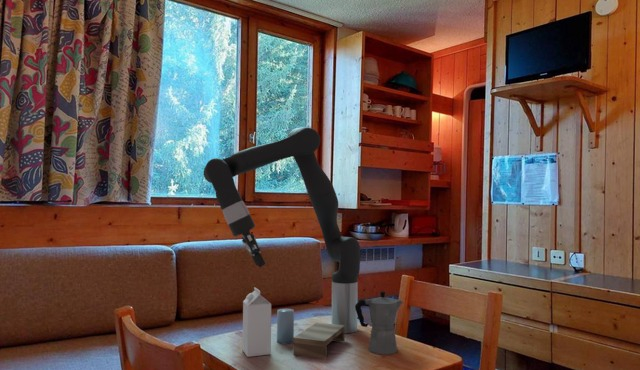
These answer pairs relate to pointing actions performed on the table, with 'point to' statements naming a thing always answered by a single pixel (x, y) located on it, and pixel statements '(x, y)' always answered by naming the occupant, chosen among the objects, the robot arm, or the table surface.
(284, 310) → the blue dome-topped cylinder
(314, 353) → the shelf
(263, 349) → the milk carton
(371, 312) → the coffeepot
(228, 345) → the table surface
